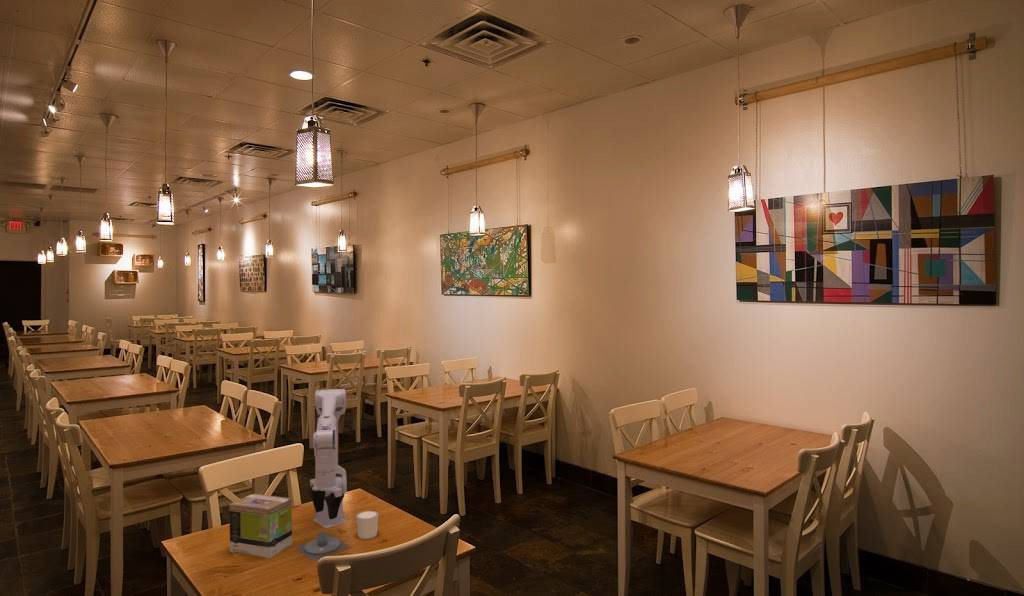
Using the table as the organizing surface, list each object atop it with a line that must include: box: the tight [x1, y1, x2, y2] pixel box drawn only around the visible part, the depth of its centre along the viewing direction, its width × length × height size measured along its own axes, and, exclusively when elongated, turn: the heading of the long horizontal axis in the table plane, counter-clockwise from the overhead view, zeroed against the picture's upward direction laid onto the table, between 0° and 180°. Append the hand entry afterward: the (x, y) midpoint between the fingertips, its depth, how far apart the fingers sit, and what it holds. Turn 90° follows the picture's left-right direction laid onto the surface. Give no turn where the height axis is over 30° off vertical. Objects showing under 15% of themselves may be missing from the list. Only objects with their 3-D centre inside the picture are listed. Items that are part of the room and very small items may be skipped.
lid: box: [305, 531, 340, 555], centre depth 172 cm, size 10×10×4 cm
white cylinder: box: [355, 510, 379, 540], centre depth 180 cm, size 7×7×7 cm
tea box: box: [228, 493, 293, 559], centre depth 172 cm, size 15×10×15 cm, turn 71°
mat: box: [294, 534, 351, 561], centre depth 172 cm, size 12×12×1 cm
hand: (326, 514), depth 172 cm, fingers open, 7 cm apart
